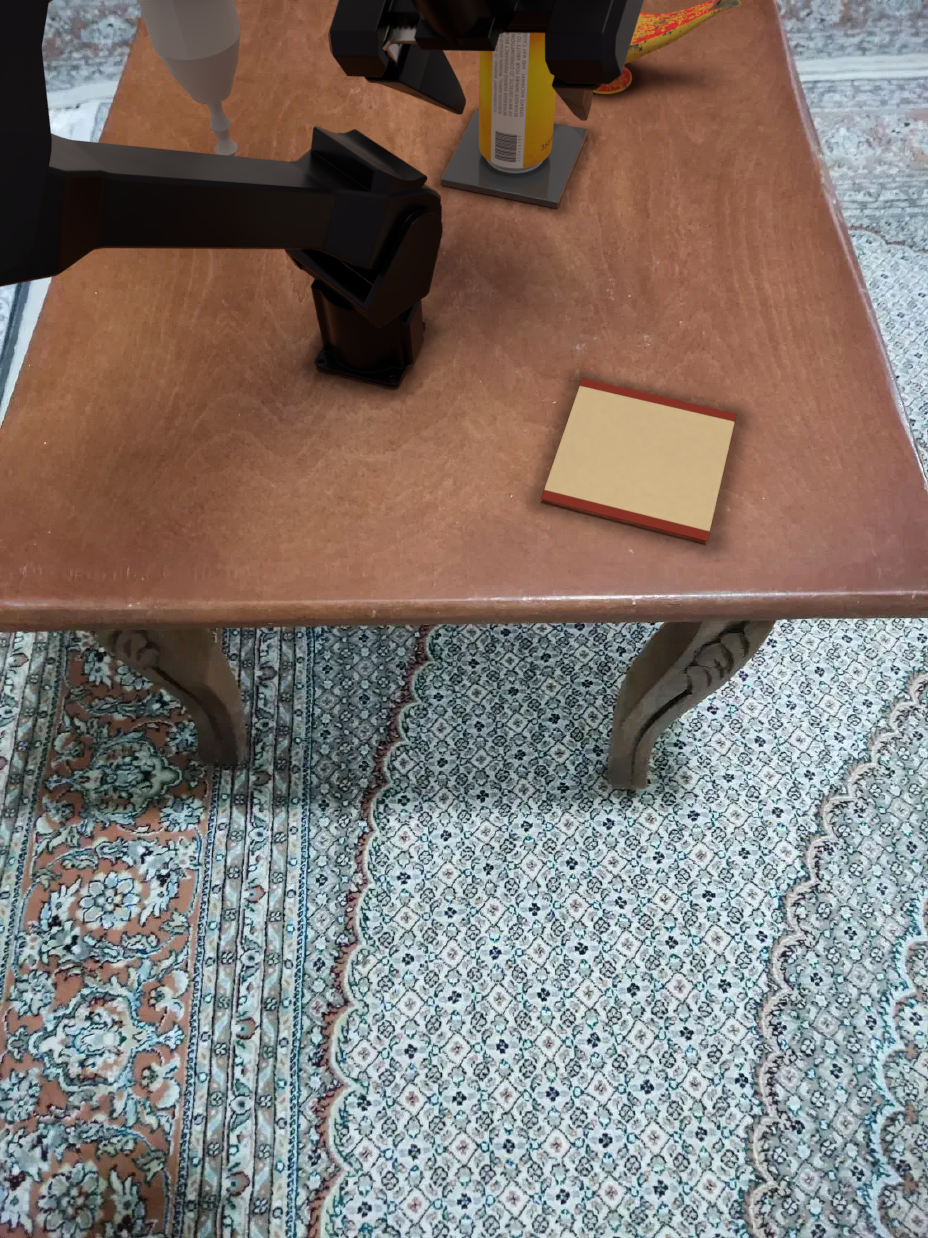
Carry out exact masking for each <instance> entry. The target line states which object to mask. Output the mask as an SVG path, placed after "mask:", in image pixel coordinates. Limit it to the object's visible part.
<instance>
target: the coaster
mask: <svg viewBox="0 0 928 1238" xmlns="http://www.w3.org/2000/svg"><path fill="white" fill-rule="evenodd" d="M588 131H589V130H588V129H587V128H584V127H578V126H573V125H568V124H562V123H557V122H554V127H553V139H552V149H551V152H550V154H549V155H548V157H547V158H546V159H545V160H543V162H542V163H541V164H540V165H539V166H538V167H537V168H535V169H533V170H531V171H528V172H524V173H506V172H502V171H500V170H497V169H495V168H494V167H492V166H491V165H490V164H489V163H488V161H487V160H486V158H485V157H484V156H483V155H482V154H481V152H480V149H479V108H476V109H475V111H474V113H473V116H472V117H471V119H470V121H469V123H468V125H467V127H466V129H465V131H464V133H463V135H462V137H461V138H460V141H459V143H458V144H457V147H456V149H455V150H454V152H453V154H452V157H451V158H450V160H449V162H448V164H447V166H446V168H445V170H444V172H443V174H442V176H441V178H440V186H443V187H447V188H453V189H458V190H462V191H469V192H473V193H478V194H484V195H488V196H493V197H497V198H498V197H499V198H502V199H507V200H511V201H512V200H513V201H517V202H523V203H526V204H527V203H528V204H532V205H538V206H542V207H547V208H551V209H558V207H559V205H560V203H561V200H562V198H563V196H564V193H565V190H566V188H567V185H568V183H569V180H570V178H571V175H572V173H573V170H574V168H575V165H576V164H577V161H578V159H579V156H580V154H581V152H582V149H583V146H584V143H585V141H586V139H587V136H588Z"/></svg>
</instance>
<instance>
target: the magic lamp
mask: <svg viewBox="0 0 928 1238" xmlns="http://www.w3.org/2000/svg"><path fill="white" fill-rule="evenodd" d="M741 5H742V1H741V0H707V1H704V2H702V3H698V4H696V5H693V6H690V7H687V8H685V9H681V10H677V11H673V12H664V13H651V12H643V11H640V15H639V18H638V21H637V25H636V28H635V31H634V34H633V38H632V41H631V44H630V48H629V51H628V54H627V58H626V61H625V64H624V67H623V71H622V74H621V76H619V77H618V78H617V79H615V80H614V81H613V82H611V83H610V84H602V85H601V86H600V87H599V88H598V89H596V90H593V94H598V95H611V94H612V95H613V94H617V93H620V92H622V91H624V90H626V89H627V88H628V87H629V86H630V85H631V83H632V80H633V75H632V72H631V71H630V69H629V68H627V67H626V66H625V65H626V64H629V63H631V62H633V61H635V60H637V59H640V58H642V57H644V56H646V55H649V54H650V53H653V52H655V51H657V50H660V49H662V48H664V47H667V46H668V45H670V44H672V43H674V42H676V41H678V40H680V39H681V38H683V37H685V36H686V35H687V34H689V33H691V32H692V31H693V30H695V29H696V28H698V27H699V26H700V25H702V24H703V23H705V22H706V21H708V20H710V19H711V18H713V17H715V16H716V15H719V14H720V13H722V12H725V11H726V10H729V9H733V8H737V7H740V6H741Z"/></svg>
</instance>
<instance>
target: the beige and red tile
mask: <svg viewBox="0 0 928 1238" xmlns="http://www.w3.org/2000/svg"><path fill="white" fill-rule="evenodd" d="M736 419H737V413H735V412H731V411H726V410H722V409H718V408H713V407H709V406H705V405H701V404H696V403H692V402H687V401H683V400H679V399H675V398H670V397H665V396H661V395H657V394H653V393H648V392H643V391H639V390H636V389H631V388H627V387H622V386H618V385H614V384H610V383H604V382H600V381H597V380H592V379H587V378H581V381H580V385H579V386H578V390H577V392H576V395H575V398H574V400H573V404H572V407H571V410H570V412H569V416H568V419H567V422H566V425H565V426H564V431H563V433H562V436H561V439H560V442H559V445H558V448H557V451H556V454H555V456H554V459H553V462H552V466H551V468H550V471H549V474H548V477H547V480H546V483H545V486H544V489H543V492H542V495H541V497H540V503H543V504H547V505H550V506H554V507H558V508H562V509H566V510H571V511H575V512H577V513H582V514H586V515H589V516H594V517H598V518H602V519H606V520H608V521H613V522H617V523H621V524H625V525H629V526H632V527H636V528H641V529H644V530H645V529H646V530H649V531H653V532H656V533H661V534H664V535H669V536H672V537H675V538H676V537H677V538H680V539H684V540H688V541H691V542H697V543H700V544H704V545H707V543H708V540H709V536H710V533H711V528H712V523H713V519H714V515H715V512H716V511H715V510H716V507H717V506H716V505H717V502H718V498H719V493H720V488H721V484H722V479H723V474H724V472H725V471H724V470H725V467H726V461H727V457H728V453H729V448H730V445H731V442H732V441H731V440H732V437H733V436H732V435H733V433H734V432H733V431H734V428H735V423H736Z"/></svg>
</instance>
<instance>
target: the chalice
mask: <svg viewBox="0 0 928 1238" xmlns="http://www.w3.org/2000/svg"><path fill="white" fill-rule="evenodd" d="M137 2H138V4H139V9H140V12H141V14H142V18H143V21H144V24H145V27H146V31H147V34H148V37H149V40H150V44H151V46H152V47H153V49H154V51H155V52H156V54H157V56H158V57H159V58H160V60H161V61H162V63H163V64H164V66H165V67H166V69H167V71H169V74H170V75H171V76H172V77H173V78H174V80H175V81H176V82H177V83H178V84H179V85H180V86H181V87H182V89H184V91H185V92H186V93H187V94H188V95H189V97H190V98H191V99H192V100H193V101H195V102H196V103H197V104H200V105H207V108H208V110H209V116H210V122H209V125H208V128H209V129H210V130H211V131H212V132H213V133H214V134H215V137H216V141H217V142H216V145H215V146H214V152H215V154H217V155H227V156H236V152H237V150H238V148H239V146H238V143H236V142H235V141H233V140H232V138H231V136H230V127H231V125H232V122H231V120H230V119H228V117H227V115H226V114H225V112H224V110H223V105H222V104H223V103H222V102H223V101H226V100H227V98H228V97H229V96H230V95H231V93H232V89H233V85H234V80H235V76H236V71H237V67H238V62H239V55H240V53H239V52H240V42H241V41H240V40H241V23H240V18H239V14H238V9H237V4H236V0H137Z"/></svg>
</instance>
